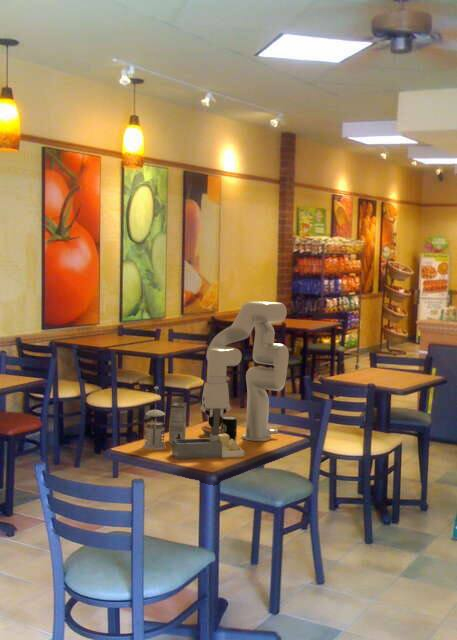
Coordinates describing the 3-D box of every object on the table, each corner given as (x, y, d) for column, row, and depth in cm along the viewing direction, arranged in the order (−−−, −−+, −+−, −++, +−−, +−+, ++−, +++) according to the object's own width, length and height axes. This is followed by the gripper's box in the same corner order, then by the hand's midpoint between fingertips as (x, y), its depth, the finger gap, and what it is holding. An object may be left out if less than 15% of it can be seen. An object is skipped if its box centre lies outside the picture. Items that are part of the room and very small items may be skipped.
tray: (234, 450, 314) (234, 444, 314) (244, 457, 304) (244, 450, 304) (213, 451, 311) (213, 445, 311) (222, 458, 301) (222, 451, 301)
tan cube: (226, 443, 308) (226, 433, 307) (229, 445, 304) (229, 435, 304) (216, 444, 306) (216, 434, 306) (219, 446, 303) (219, 436, 302)
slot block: (215, 452, 309) (215, 437, 309) (221, 457, 302) (222, 442, 301) (171, 454, 303) (172, 439, 303) (177, 459, 296) (177, 444, 295)
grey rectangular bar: (215, 442, 307) (217, 403, 305) (218, 445, 304) (220, 406, 301) (209, 442, 306) (212, 403, 304) (212, 445, 303) (215, 406, 301)
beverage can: (234, 448, 318) (235, 419, 317) (218, 447, 319) (219, 418, 318) (237, 444, 324) (238, 416, 323) (222, 443, 326) (223, 415, 325)
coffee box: (170, 438, 330) (172, 401, 329) (185, 439, 330) (187, 402, 329) (168, 443, 321) (170, 405, 320) (183, 444, 321) (185, 406, 320)
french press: (167, 444, 320) (169, 384, 318) (165, 451, 308) (167, 389, 307) (143, 443, 320) (145, 383, 318) (140, 450, 308) (142, 388, 307)
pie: (201, 431, 348) (202, 420, 348) (235, 433, 348) (236, 422, 348) (199, 439, 333) (200, 427, 332) (235, 440, 332) (236, 429, 332)
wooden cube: (223, 444, 308) (229, 452, 309) (227, 447, 304) (232, 454, 305) (231, 438, 309) (237, 445, 310) (234, 440, 305) (240, 448, 306)
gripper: (232, 378, 309) (231, 423, 310) (194, 378, 304) (192, 424, 305) (239, 381, 302) (237, 427, 303) (199, 381, 297) (198, 429, 298)
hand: (215, 425), depth 304 cm, fingers closed on grey rectangular bar, 2 cm apart
